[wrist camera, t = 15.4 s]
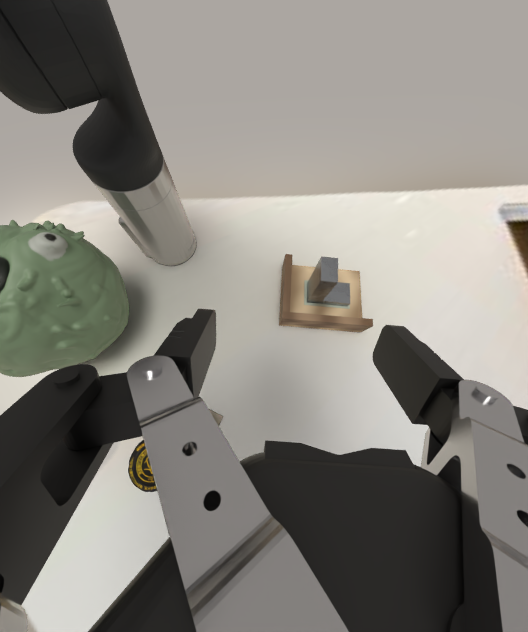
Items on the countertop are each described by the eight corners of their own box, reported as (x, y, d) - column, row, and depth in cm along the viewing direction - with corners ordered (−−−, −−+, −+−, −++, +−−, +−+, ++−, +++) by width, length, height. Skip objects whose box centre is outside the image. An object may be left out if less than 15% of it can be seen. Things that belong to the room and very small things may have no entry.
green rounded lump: (31, 368, 36) (-214, 350, 17) (83, 267, 42) (-58, 170, 23) (124, 389, 36) (-20, 394, 17) (164, 285, 42) (89, 202, 23)
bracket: (306, 302, 41) (321, 280, 32) (307, 282, 42) (321, 256, 34) (346, 306, 41) (371, 285, 32) (346, 286, 42) (370, 261, 34)
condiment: (154, 449, 34) (104, 483, 22) (183, 396, 36) (151, 401, 25) (196, 472, 33) (167, 518, 22) (223, 416, 36) (209, 430, 24)
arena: (279, 325, 41) (279, 323, 39) (282, 266, 44) (283, 263, 43) (360, 332, 41) (363, 330, 40) (357, 273, 44) (359, 271, 43)
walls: (279, 323, 40) (282, 318, 36) (283, 264, 43) (285, 254, 40) (362, 331, 40) (373, 326, 37) (359, 271, 43) (368, 261, 40)
